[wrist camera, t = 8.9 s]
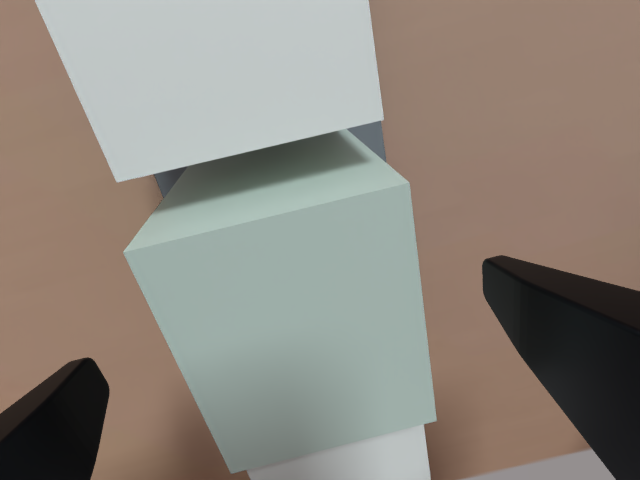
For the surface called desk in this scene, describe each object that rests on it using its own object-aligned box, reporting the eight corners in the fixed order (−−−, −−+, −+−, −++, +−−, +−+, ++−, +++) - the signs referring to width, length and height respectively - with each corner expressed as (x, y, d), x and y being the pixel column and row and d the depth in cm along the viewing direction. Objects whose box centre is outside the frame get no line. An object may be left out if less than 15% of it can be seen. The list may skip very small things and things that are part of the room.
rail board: (408, 364, 20) (481, 519, 13) (253, 403, 20) (246, 581, 13) (340, -114, 12) (442, -354, 5) (74, -55, 11) (-202, -222, 5)
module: (368, 275, 16) (436, 420, 9) (245, 305, 15) (230, 473, 9) (340, 123, 13) (409, 182, 7) (193, 159, 13) (122, 252, 7)
